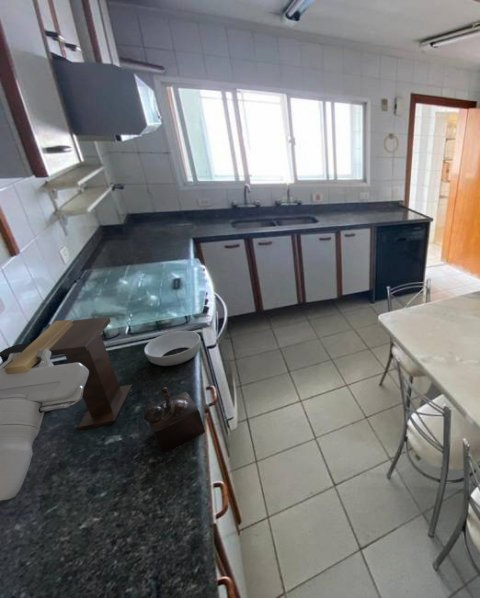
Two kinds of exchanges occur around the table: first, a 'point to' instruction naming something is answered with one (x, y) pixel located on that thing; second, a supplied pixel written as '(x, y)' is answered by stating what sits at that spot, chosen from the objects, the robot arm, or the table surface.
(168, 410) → the dark brown boxy piece
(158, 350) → the cereal bowl
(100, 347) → the walnut stand
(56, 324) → the wooden plank
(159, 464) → the table surface
